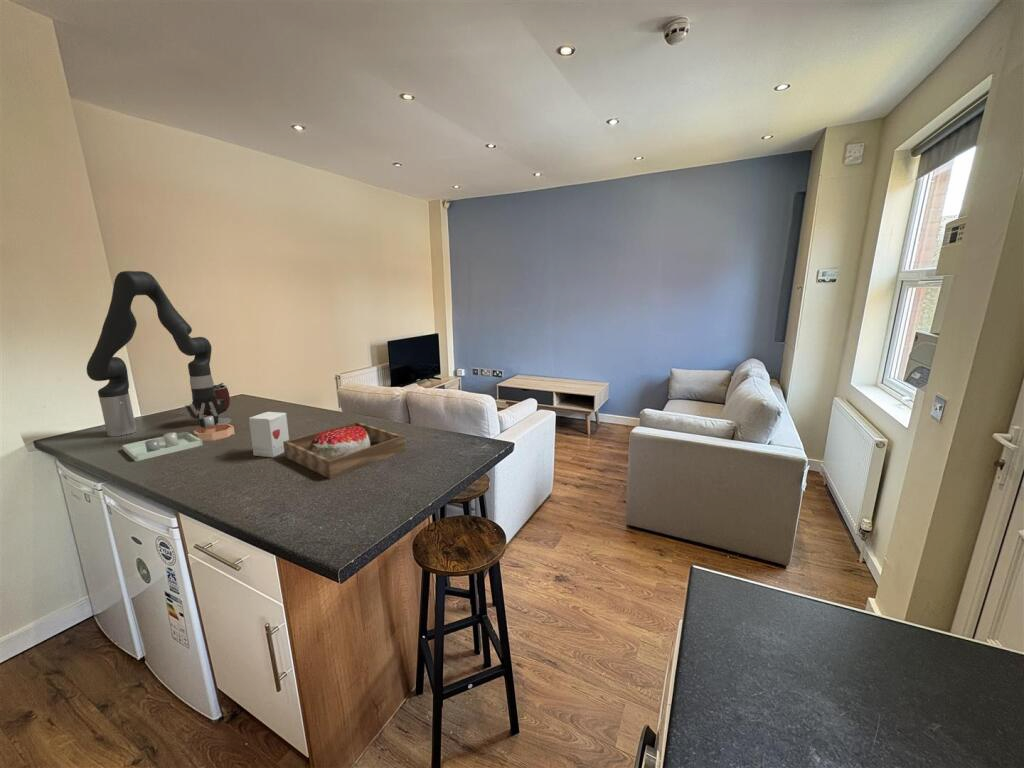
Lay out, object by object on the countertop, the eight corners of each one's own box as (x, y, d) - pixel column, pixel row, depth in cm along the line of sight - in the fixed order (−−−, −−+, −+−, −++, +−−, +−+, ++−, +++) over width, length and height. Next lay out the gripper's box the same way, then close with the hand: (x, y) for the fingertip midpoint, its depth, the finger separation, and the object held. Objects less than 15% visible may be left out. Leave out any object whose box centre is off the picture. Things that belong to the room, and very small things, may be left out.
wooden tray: (285, 456, 149) (283, 441, 148) (357, 434, 173) (356, 421, 172) (330, 479, 131) (328, 461, 130) (404, 451, 155) (404, 436, 154)
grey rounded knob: (146, 454, 149) (143, 441, 148) (159, 451, 152) (157, 438, 151) (149, 456, 147) (146, 443, 145) (162, 453, 150) (160, 440, 148)
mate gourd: (189, 426, 185) (182, 383, 180) (218, 417, 198) (212, 378, 193) (214, 429, 180) (207, 386, 176) (242, 420, 193) (236, 379, 189)
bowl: (191, 438, 168) (189, 429, 167) (226, 430, 178) (225, 422, 177) (202, 445, 161) (200, 435, 160) (238, 436, 171) (236, 427, 170)
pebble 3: (202, 428, 168) (200, 416, 167) (213, 425, 171) (211, 414, 170) (205, 429, 166) (203, 418, 165) (216, 427, 169) (214, 416, 168)
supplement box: (273, 458, 148) (268, 419, 145) (252, 456, 150) (247, 417, 147) (291, 449, 157) (286, 412, 154) (271, 447, 159) (266, 411, 156)
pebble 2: (164, 446, 157) (162, 434, 156) (176, 443, 160) (174, 431, 159) (167, 448, 155) (165, 436, 153) (179, 445, 158) (177, 433, 156)
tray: (123, 452, 153) (122, 445, 152) (188, 438, 169) (186, 431, 168) (135, 463, 143) (134, 456, 142) (203, 447, 158) (202, 440, 158)
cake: (350, 439, 169) (348, 416, 167) (382, 453, 153) (380, 428, 151) (292, 455, 151) (289, 430, 149) (322, 473, 136) (319, 445, 134)
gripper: (219, 382, 172) (225, 420, 176) (177, 387, 161) (185, 428, 165) (225, 384, 168) (231, 423, 172) (184, 390, 157) (191, 432, 161)
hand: (209, 425), depth 168 cm, fingers closed on pebble 3, 3 cm apart
